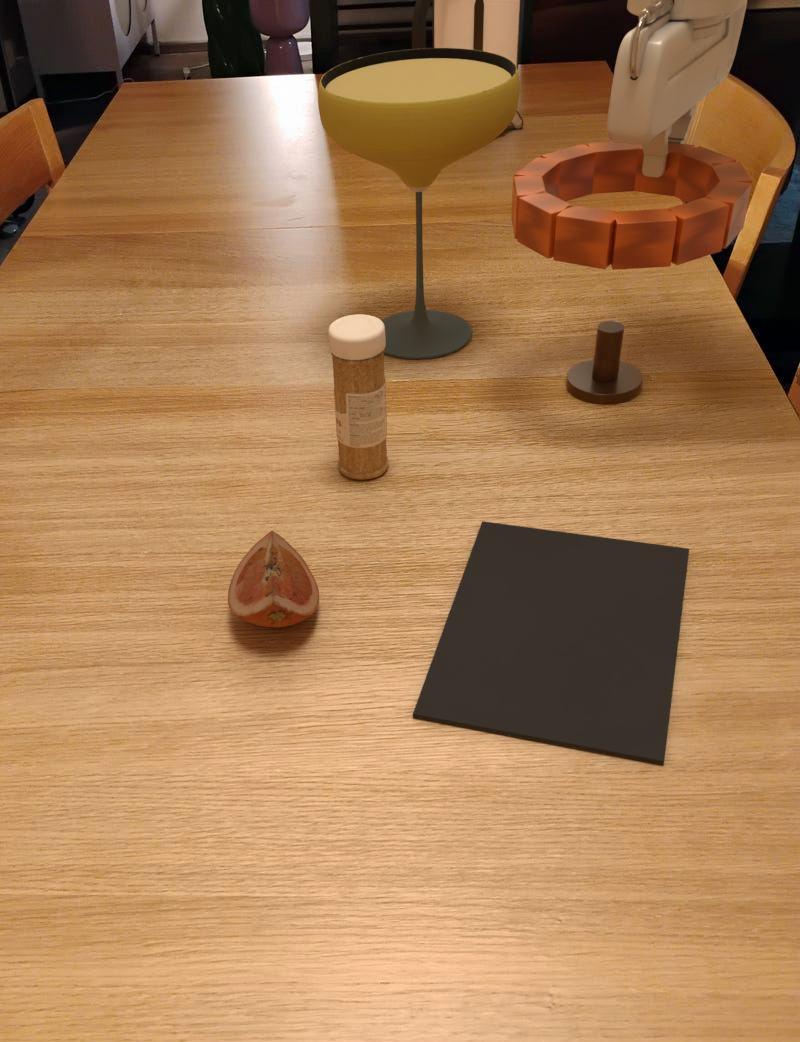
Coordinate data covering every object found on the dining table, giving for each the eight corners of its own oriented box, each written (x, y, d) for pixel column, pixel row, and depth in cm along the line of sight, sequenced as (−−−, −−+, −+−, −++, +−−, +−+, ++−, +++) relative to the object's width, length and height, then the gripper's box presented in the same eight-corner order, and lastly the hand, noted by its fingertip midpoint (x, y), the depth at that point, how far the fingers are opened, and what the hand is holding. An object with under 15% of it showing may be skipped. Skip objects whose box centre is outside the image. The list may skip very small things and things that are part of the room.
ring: (641, 167, 95) (646, 126, 93) (790, 229, 82) (801, 183, 80) (471, 216, 90) (472, 173, 88) (602, 289, 77) (607, 242, 75)
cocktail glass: (393, 286, 118) (386, 40, 101) (537, 317, 109) (556, 55, 92) (301, 353, 107) (276, 92, 91) (452, 393, 99) (455, 113, 82)
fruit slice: (322, 650, 74) (317, 597, 70) (229, 657, 74) (219, 605, 70) (319, 577, 80) (314, 525, 76) (233, 584, 80) (224, 532, 77)
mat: (482, 525, 83) (482, 520, 83) (688, 552, 79) (689, 548, 78) (412, 717, 68) (412, 713, 68) (663, 765, 64) (664, 761, 63)
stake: (609, 361, 101) (617, 303, 97) (657, 390, 97) (667, 330, 93) (551, 380, 99) (556, 322, 95) (596, 411, 95) (604, 351, 91)
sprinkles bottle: (338, 455, 92) (327, 313, 83) (388, 452, 92) (383, 310, 83) (338, 484, 89) (327, 339, 80) (390, 481, 89) (386, 336, 80)
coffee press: (420, 117, 163) (418, -114, 143) (523, 113, 161) (535, -123, 141) (412, 154, 151) (409, -94, 131) (523, 150, 148) (537, -103, 128)
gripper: (680, 16, 73) (654, 213, 82) (767, -44, 85) (735, 135, 94) (596, 12, 76) (579, 203, 85) (691, -45, 88) (668, 128, 97)
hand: (662, 167), depth 89 cm, fingers closed on ring, 2 cm apart
